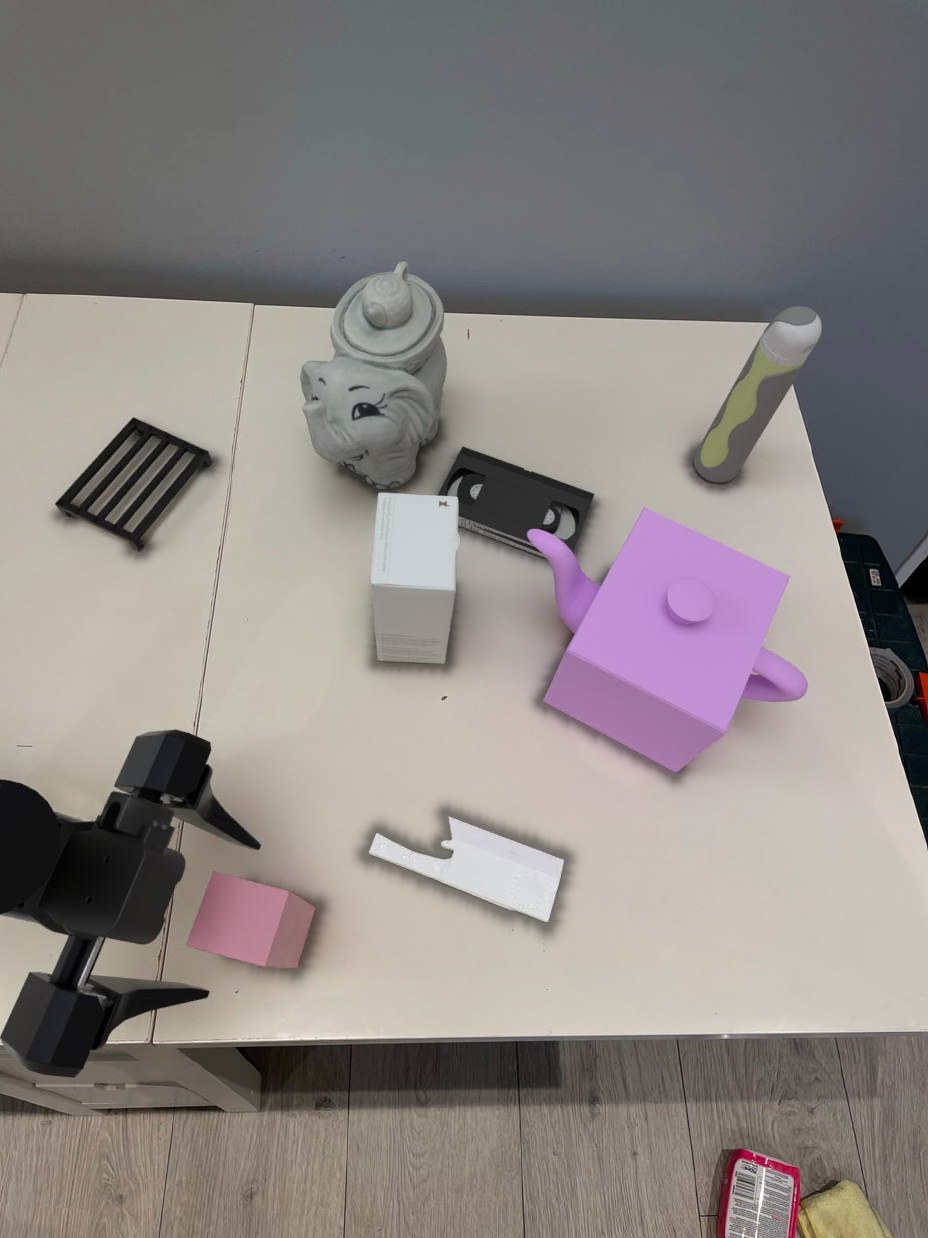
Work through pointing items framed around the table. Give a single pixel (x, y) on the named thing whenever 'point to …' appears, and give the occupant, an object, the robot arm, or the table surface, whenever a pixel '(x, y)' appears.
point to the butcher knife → (485, 868)
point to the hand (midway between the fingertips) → (232, 917)
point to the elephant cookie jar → (379, 378)
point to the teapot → (666, 639)
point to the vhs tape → (513, 501)
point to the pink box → (251, 922)
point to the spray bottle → (757, 393)
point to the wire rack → (133, 481)
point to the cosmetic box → (414, 576)
